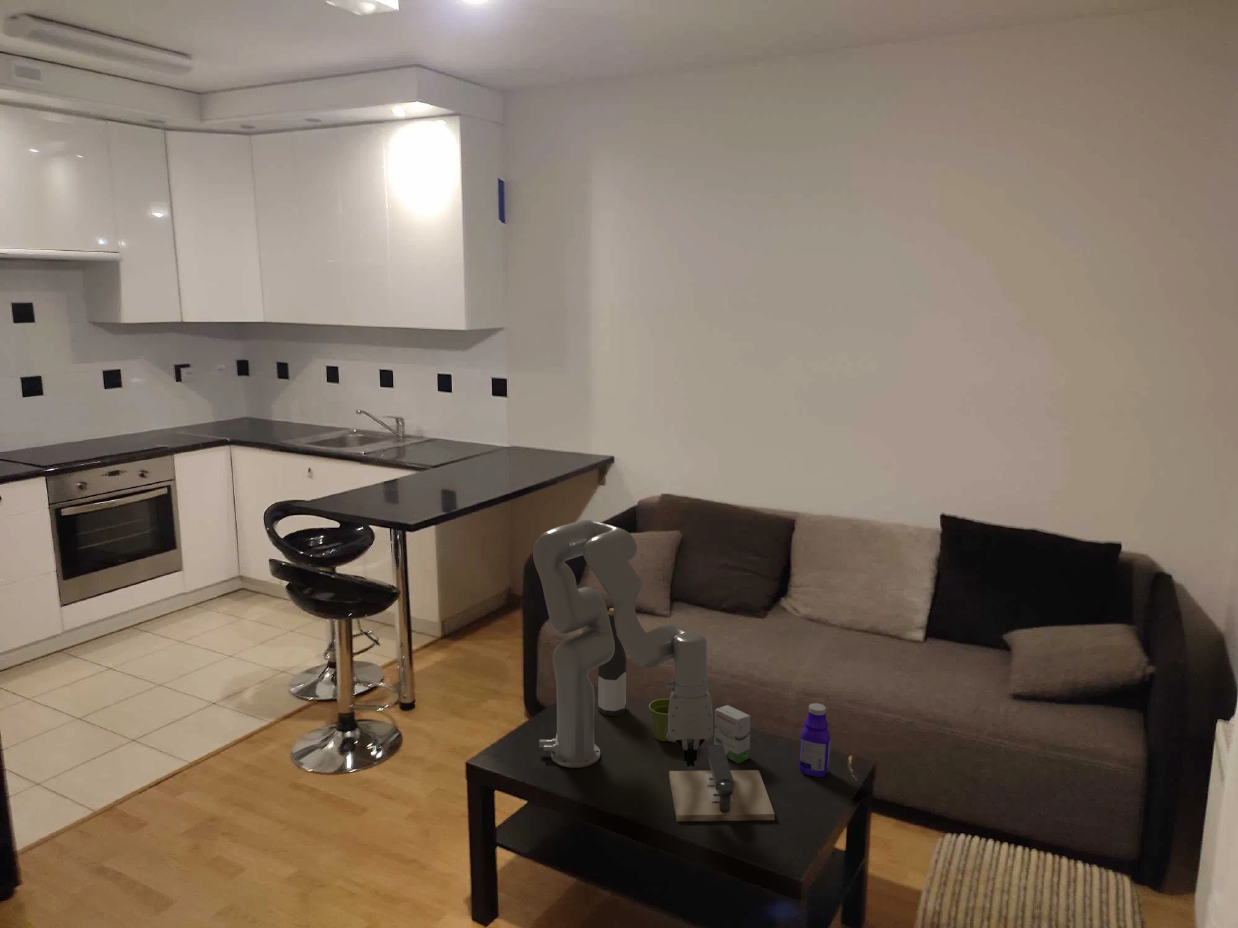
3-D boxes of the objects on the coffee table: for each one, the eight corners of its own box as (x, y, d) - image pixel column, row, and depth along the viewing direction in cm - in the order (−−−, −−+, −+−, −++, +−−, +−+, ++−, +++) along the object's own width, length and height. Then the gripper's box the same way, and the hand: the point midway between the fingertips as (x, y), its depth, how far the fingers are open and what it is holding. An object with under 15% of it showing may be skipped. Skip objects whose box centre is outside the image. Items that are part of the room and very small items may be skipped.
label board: (676, 821, 199) (677, 798, 198) (669, 776, 218) (669, 755, 217) (774, 819, 200) (775, 797, 199) (758, 775, 218) (759, 754, 217)
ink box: (750, 758, 227) (752, 714, 225) (737, 764, 224) (738, 720, 222) (726, 745, 233) (727, 703, 231) (712, 750, 230) (713, 708, 228)
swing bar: (717, 795, 198) (717, 787, 198) (706, 752, 217) (706, 744, 217) (735, 795, 198) (735, 787, 198) (722, 752, 217) (722, 744, 217)
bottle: (830, 769, 221) (834, 704, 218) (825, 780, 216) (829, 714, 213) (801, 763, 224) (804, 698, 221) (796, 774, 219) (799, 708, 216)
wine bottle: (607, 701, 258) (607, 602, 253) (631, 707, 254) (632, 607, 249) (592, 711, 252) (592, 610, 246) (617, 718, 248) (617, 616, 242)
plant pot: (660, 724, 244) (661, 695, 243) (690, 734, 239) (690, 704, 237) (641, 738, 237) (642, 707, 235) (671, 748, 231) (672, 717, 230)
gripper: (658, 695, 197) (658, 772, 200) (725, 693, 198) (724, 770, 201) (655, 682, 205) (656, 756, 208) (720, 680, 205) (720, 754, 208)
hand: (690, 763), depth 204 cm, fingers closed
